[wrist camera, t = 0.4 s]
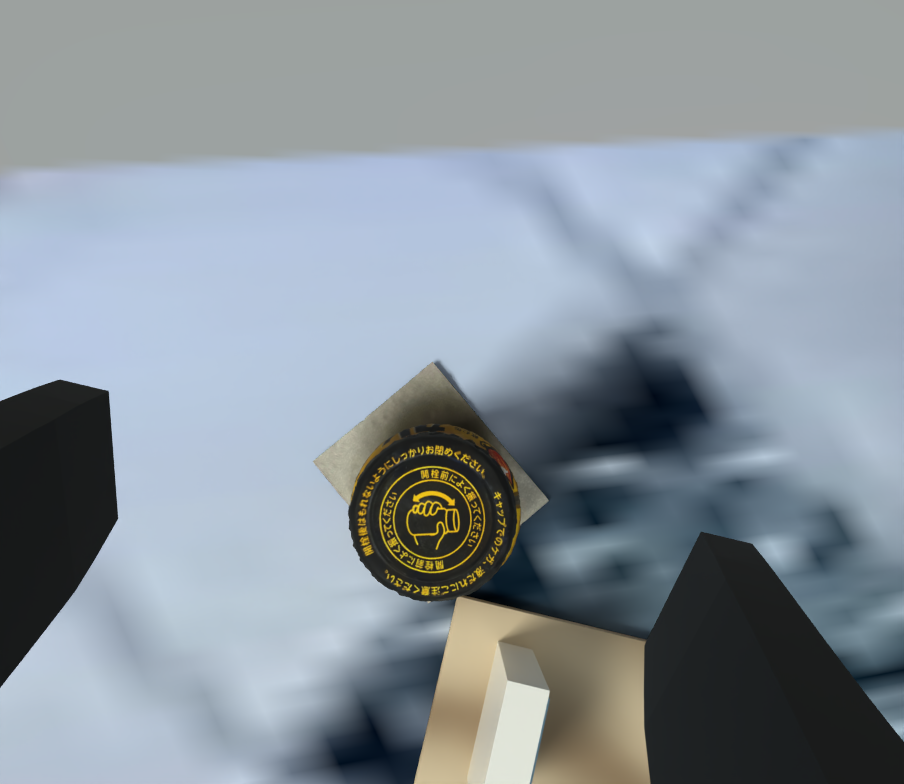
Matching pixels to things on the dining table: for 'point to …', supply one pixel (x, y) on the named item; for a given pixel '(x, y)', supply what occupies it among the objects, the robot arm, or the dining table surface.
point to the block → (510, 719)
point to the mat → (571, 697)
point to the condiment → (430, 492)
